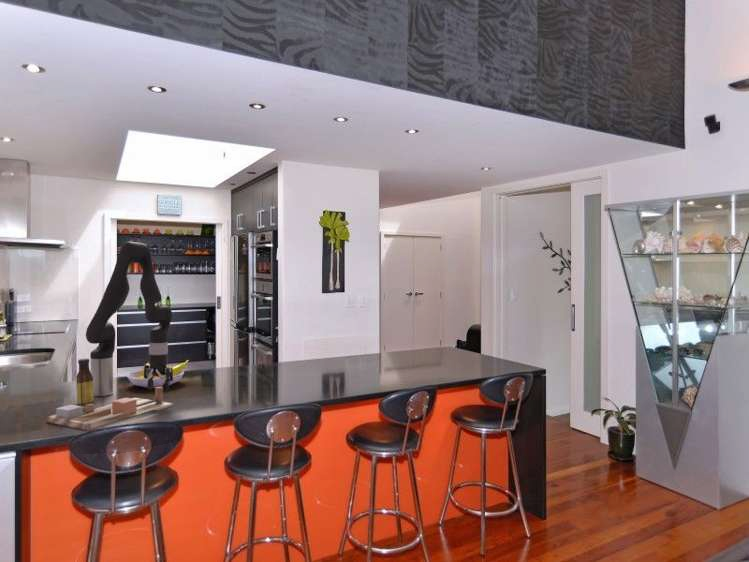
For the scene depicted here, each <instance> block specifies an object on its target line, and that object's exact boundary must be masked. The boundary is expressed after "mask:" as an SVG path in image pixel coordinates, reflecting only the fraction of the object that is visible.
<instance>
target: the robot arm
mask: <svg viewBox="0 0 749 562" xmlns="http://www.w3.org/2000/svg"><path fill="white" fill-rule="evenodd" d="M131 264H138V265H139V266H140V267H141V271H142V273H141V279H140V283H139V288H140V292H141V294H142V297H143V300H144V312H145V313H144V315H145V319H146V321H148V322H149V323H150V324H158V326H156V327H154V328H151V329H150V331H149V345H148V362H149V364H147V363H146V364H147V365H145V364H144V365H145V366H144V365H143V366H144V379H147V380H148V388H147V389H148V390H153V389H154V388H153V380H152V379H153V378H154V377H155V376H157V377H160V379H162V381H163V392H164V393H165V392H168V391H169V390H170V389H169V387H170V386H169V382H170V381H173V370H172V367H173V366H169V368H167V367H166V366H167V364H168V361H169V346H168V338H169V337H168V334H169V329H170V326H171V322H172V319H173V312H172V309H171V308H170V307H169V306H168V305H157V306H156V304H158V303H160V302H162V294H161V291H160V289H159V285H158V284H157V280H156V276H155V271H154V264H153V260H152V254H151V251H150V247H149V246H148V245H147V244H146V243H143V242H137V241H135V242H134V241H125V242H124V243H123V244H122V246H121V247H120V250H119V252H118V256H117V259H116V261H115V265H114V269H113V271H112V274H111V276H110V280H109V282H108V284H107V285H106V289H105V290H104V293H103V296H102V298H101V300H100V303H99V305H98V307H97V309H96V311H95V313H94V315H93V317H92V319H91V320H90V322H89V324H88V326H87V327H86V331H85V338H86V341H87V343H89V344H95V345H96V344H98V345H97V346H96V348H95V349H94V350H92V351H91V352H90V353H89V354H90V358H89V370H90V372H91V375H92V377H93V389H94V396H101V397H107V395H108V396H111V395H113V394H114V352H115V349H116V328H115V325H114V324H113V323H112V322H109V320H110V318H111V317H112V316H113V315H114V314H115V313H116V312H117V311H119V310H120V309H121V307H122V306H123V305H124V304H125V302H126V300H127V297H128V295H129V293H130V283H129V279H128V270H129V268H130V265H131ZM147 373H148V374H147ZM163 375H164V376H163ZM169 376H170V379H169ZM165 379H166V380H165Z"/></svg>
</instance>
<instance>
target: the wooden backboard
mask: <svg viewBox="0 0 749 562" xmlns="http://www.w3.org/2000/svg"><path fill="white" fill-rule="evenodd" d="M131 399H137V405H138V404H142V403H145V402H149V401H152V400H153V399H146V398H140V397H132V398H131ZM172 406H174V405H173V403H172V402H166V401H163V402H159V403H156V402H153V403H149V404H146V405H143V406H139V407H137V412H134V413H131V414H130V412H128V411H126V412H123V413H119V414H112V403H110V404H107V405H104V406H100V407H97V408H94V412H93V413H89V414H86V415H82V416H78V417H75V418H71V419H65V418H59V417H56V413H55V414H51V415H48V416H46V420H47V421H46V422H47V423H50V424H54V425H55V424H56V425H59V426H67V427H70V428H75V429H80V430H85V431H89V430H93V429H96V428H99V427H102V426H105V425H109V424H112V423H115V422H118V421H121V420H122V421H123V420H125V419H127V418H131V417H135V416H137V415H140V414H143V413H146V412H151V411H153V410H154V411H160V410H164V409H167V408H169V407H172ZM82 407H83V414H85V413H86V405H84V406H82Z"/></svg>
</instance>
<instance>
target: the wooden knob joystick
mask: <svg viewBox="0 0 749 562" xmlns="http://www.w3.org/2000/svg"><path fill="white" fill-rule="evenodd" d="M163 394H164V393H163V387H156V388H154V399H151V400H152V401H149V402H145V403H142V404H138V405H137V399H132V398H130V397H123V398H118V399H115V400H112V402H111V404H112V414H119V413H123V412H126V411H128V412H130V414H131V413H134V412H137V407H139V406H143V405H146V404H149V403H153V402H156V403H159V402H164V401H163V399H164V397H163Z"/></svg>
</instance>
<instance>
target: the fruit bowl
mask: <svg viewBox="0 0 749 562" xmlns="http://www.w3.org/2000/svg"><path fill="white" fill-rule="evenodd" d="M189 361H190V360H189V359H187V360H186V361H185V362H182V363H181V362H180V363H179V364H177V365H172V366H171V367H172V370H173V381H170V382H169V387H170V386H171V385H173V384H175V383H177V382H179V381H181V380H182V378H183V376H184V373H185V370H184V369H185V367H186V366H187V364H188V363H189ZM147 364H149V361H148V362H147V363H145V364H144V365H143V366H142V368H141V369H140V370H138V371H132V372H130V373H128V374H127V376H126V377H127V379H128V380H129V381H130V383H132V385H133V386H138V387H142V388H146V389H148V380H147V379H144V366H145V365H147ZM166 367H167V368H170V366H168V365H166ZM147 374H148V373H147ZM163 376H164V375H163ZM169 379H170V376H169ZM152 380H153V389H155V388H156V387H163V381H162V379H160V377H157V376H155V377H154V378H153V379H152ZM165 380H166V379H165Z"/></svg>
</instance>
